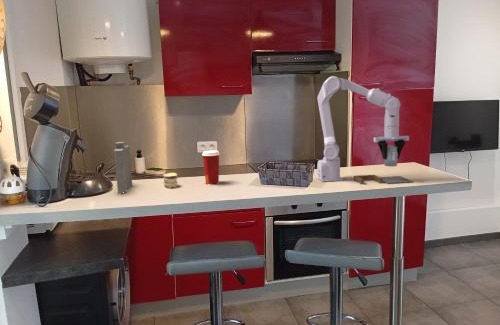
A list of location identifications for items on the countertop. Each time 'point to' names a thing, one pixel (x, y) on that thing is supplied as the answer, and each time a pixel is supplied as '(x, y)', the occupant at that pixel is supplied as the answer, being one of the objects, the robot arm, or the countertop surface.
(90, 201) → the countertop surface
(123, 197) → the countertop surface
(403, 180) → the rubber mat
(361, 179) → the jug holder
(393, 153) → the jug
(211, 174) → the paper cup
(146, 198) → the countertop surface
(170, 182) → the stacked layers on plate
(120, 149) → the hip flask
